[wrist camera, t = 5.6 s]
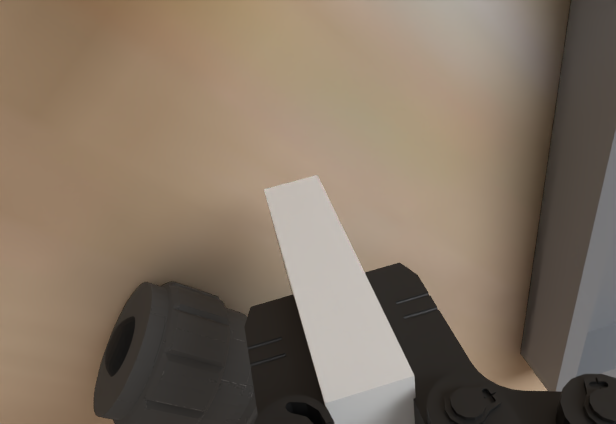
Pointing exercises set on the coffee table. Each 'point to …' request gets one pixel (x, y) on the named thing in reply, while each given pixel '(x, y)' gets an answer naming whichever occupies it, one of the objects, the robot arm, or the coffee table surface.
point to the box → (578, 212)
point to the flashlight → (176, 361)
